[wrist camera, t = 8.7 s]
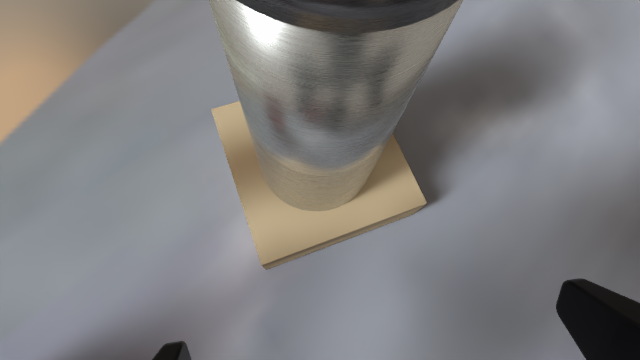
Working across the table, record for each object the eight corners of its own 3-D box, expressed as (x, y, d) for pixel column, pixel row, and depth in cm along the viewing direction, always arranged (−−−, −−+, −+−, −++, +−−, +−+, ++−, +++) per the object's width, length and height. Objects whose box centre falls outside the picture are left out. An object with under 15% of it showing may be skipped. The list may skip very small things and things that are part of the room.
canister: (396, 158, 20) (592, -142, 6) (315, 238, 18) (356, 59, 5) (315, 86, 21) (340, -291, 8) (233, 155, 19) (83, -170, 6)
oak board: (413, 214, 21) (426, 203, 19) (266, 269, 20) (261, 264, 17) (354, 88, 24) (360, 65, 21) (220, 129, 22) (211, 109, 20)
